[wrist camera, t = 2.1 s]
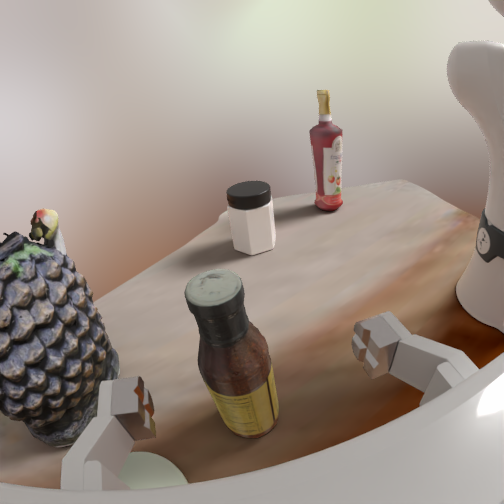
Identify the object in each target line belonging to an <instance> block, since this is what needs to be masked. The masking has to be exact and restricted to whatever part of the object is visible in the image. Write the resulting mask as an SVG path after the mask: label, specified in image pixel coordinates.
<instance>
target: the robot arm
mask: <svg viewBox="0 0 504 504" xmlns="http://www.w3.org/2000/svg"><path fill="white" fill-rule="evenodd" d="M489 2H490V3H491V4H492V6H493V7H494V8H495V9H496V10H497V11H498V12H499V13H500V14H501V15H502V16H503V17H504V0H489ZM447 76H448V81H449V84H450V87H451V89H452V92H453V94H454V95H455V97H456V99H457V100H458V101H459V103H460V104H461V105H462V106H463V107H464V108H465V109H466V110H467V111H468V112H469V113H470V114H471V116H472V117H473V118H474V120H475V121H476V123H477V124H478V126H479V128H480V129H481V132H482V134H483V136H484V138H485V141H486V144H487V147H488V152H489V158H490V179H489V190H488V197H487V203H486V208H485V209H484V210H483V212H482V216H481V219H480V224H479V228H478V233H477V240H476V247H475V250H474V252H473V255H472V257H471V259H470V262H469V264H468V266H467V268H466V270H465V271H464V273H463V275H462V276H461V278H460V279H459V281H458V283H457V285H456V294H457V297H458V300H459V302H460V303H461V305H462V306H463V307H464V309H465V310H466V311H467V312H468V313H469V314H470V315H472V316H473V317H474V318H476V319H477V320H479V321H481V322H483V323H485V324H487V325H490V326H492V327H495V328H497V329H499V330H500V331H502V332H503V333H504V44H503V43H497V42H492V41H469V42H459V43H458V44H457V45H456V46H455V47H454V48H453V50H452V51H451V53H450V56H449V59H448V64H447ZM354 331H355V333H356V334H355V336H354V337H353V338H352V349H353V352H354V355H355V356H356V358H357V359H358V360H359V361H361V362H364V366H363V368H364V370H365V371H366V373H367V374H368V376H369V377H370V378H371V379H374V378H376V377H379V376H381V375H384V374H386V373H389V374H391V375H393V376H395V377H397V378H398V379H400V380H402V381H404V382H406V383H408V384H409V385H411V386H413V387H415V388H417V389H419V390H421V391H422V392H424V395H423V397H422V399H421V401H420V404H419V405H420V407H418V408H416V409H414V410H413V411H411V412H409V413H407V414H405V415H403V416H401V417H399V418H397V419H395V420H393V421H391V422H389V423H387V424H385V425H382V426H380V427H378V428H376V429H374V430H372V431H369V432H367V433H365V434H362V435H360V436H358V437H355V438H353V439H350V440H348V441H346V442H343V443H340V444H338V445H335V446H333V447H330V448H327V449H325V450H322V451H319V452H316V453H313V454H310V455H307V456H304V457H301V458H298V459H295V460H292V461H288V462H285V463H282V464H278V465H275V466H271V467H268V468H264V469H260V470H256V471H252V472H248V473H244V474H239V475H235V476H230V477H225V478H220V479H215V480H210V481H204V482H198V483H191V484H184V485H177V486H169V487H160V488H149V489H135V490H130V487H129V486H127V485H126V484H125V483H124V482H122V481H121V480H120V479H119V478H118V475H119V473H120V471H121V469H122V467H123V465H124V463H125V461H126V459H127V457H128V455H129V453H130V451H131V449H132V447H133V445H134V443H135V441H137V440H144V439H150V438H156V430H155V422H154V421H153V419H152V416H153V414H154V406H153V402H152V398H151V395H150V393H149V391H148V390H147V389H145V388H144V382H143V380H142V378H141V377H131V378H123V379H115V380H107V381H102V382H101V384H100V388H99V398H98V411H97V417H94V418H93V419H92V420H91V422H90V423H89V424H88V426H87V427H86V428H85V430H84V431H83V432H82V434H81V435H80V436H79V438H78V439H77V440H76V442H75V443H74V445H73V446H72V447H71V449H70V450H69V451H68V453H67V454H66V455H65V457H64V458H63V460H62V470H61V489H49V488H38V487H30V486H22V485H15V484H9V483H3V482H0V504H504V352H503V353H502V354H501V355H499V356H498V357H497V358H495V359H494V360H493V361H491V362H490V363H489V364H487V365H486V366H484V367H483V368H481V369H480V370H479V369H478V368H477V366H476V365H475V364H474V363H473V362H472V361H471V360H470V359H469V358H468V357H467V356H466V354H465V353H464V352H463V351H461V350H458V349H455V348H452V347H450V346H447V345H444V344H441V343H438V342H436V341H433V340H430V339H427V338H424V337H422V336H419V335H416V334H414V335H412V334H411V333H410V332H409V331H408V330H407V329H406V328H405V327H404V326H403V324H402V323H401V322H400V321H399V320H398V319H397V318H396V317H395V316H394V315H393V314H392V313H391V312H389V311H387V312H385V313H382V314H379V315H376V316H373V317H370V318H367V319H365V320H362V321H359V322H356V324H355V325H354Z"/></svg>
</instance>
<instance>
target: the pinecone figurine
mask: <svg viewBox="0 0 504 504" xmlns="http://www.w3.org/2000/svg"><path fill="white" fill-rule="evenodd" d="M31 225H32V229H31V233H29V237H30V238H31V240H33V239H34V240H36V241H40V239H41V237H43V238H44V239H45V240H44V245H42V244H40V243H35V242H30V241H29V240H28V238H27V237H23V235H21V234H19V233H17V232H13V233H12V234H10V235H8V234H6V233H4V235H7V238H6V239H5V240H4V241H3V243H0V410H1V412H2V413H3V414H4V415H5V416H9V418H10V419H11V420H16V421H21V420H22V421H23V422H25V424H26V426H27V427H28V429H29V430H30V432H31V433H32V435H33V436H34V437H36V438H38V439H39V440H41V441H43V442H45V443H47V444H49V445H51V446H54V447H65V446H68V445H72V444H74V443H75V442H76V440H77V439H78V438H79V436H80V435H81V434H82V432H83V431H84V430H85V428H86V427H87V426H88V424H89V423H90V422H91V420H92V419H93V418H94V417H97V411H98V398H99V388H100V384H101V382H102V381H107V380H115V379H118V376H119V373H120V367H119V358H118V354H117V352H116V351H115V350H114V349H113V348H112V346H111V343H110V340H109V339H108V338H109V337H108V335H107V334H106V332H105V326H104V323H102V322H101V319H102V316H101V315H100V314H99V313H98V311H97V308H96V307H95V306H94V304H93V300H92V295H93V292H92V290H91V289H90V287H89V286H88V284H87V282H86V280H85V278H84V277H83V276H82V275H81V274H79V273H78V272H77V271H76V268H75V264H74V261H73V260H72V259H70V258H69V257H68V256H67V254H66V249H65V244H64V239H63V237H62V234H61V231H60V228H59V226H58V215H57V213H56V212H55V211H54V210H48V209H40V210H38V211H36V212H35V213H34V215H33V218H32V220H31Z"/></svg>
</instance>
